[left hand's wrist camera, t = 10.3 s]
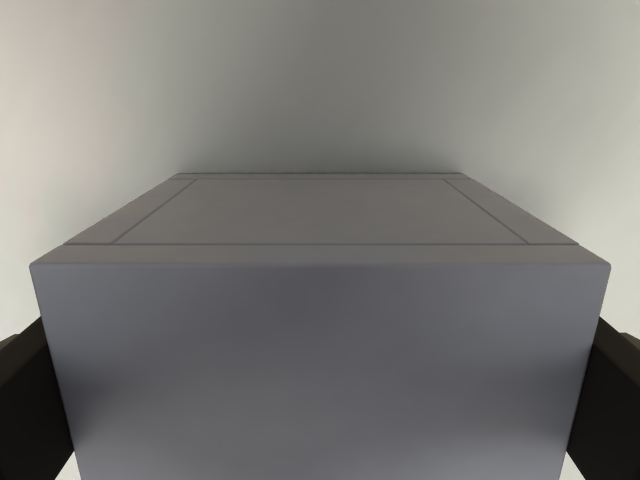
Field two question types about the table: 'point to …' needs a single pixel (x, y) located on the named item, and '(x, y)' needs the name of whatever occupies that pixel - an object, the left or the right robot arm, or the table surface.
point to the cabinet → (320, 331)
